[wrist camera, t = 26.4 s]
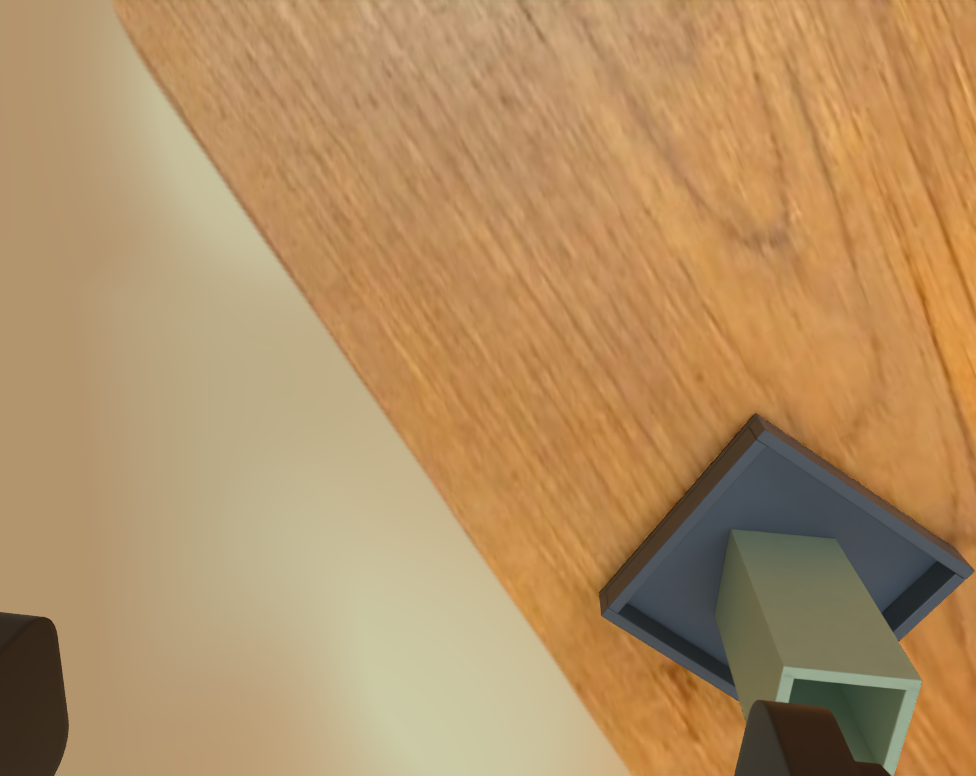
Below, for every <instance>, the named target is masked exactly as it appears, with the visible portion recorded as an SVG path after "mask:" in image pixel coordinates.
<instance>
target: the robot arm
mask: <svg viewBox="0 0 976 776" xmlns="http://www.w3.org/2000/svg"><path fill="white" fill-rule="evenodd" d="M68 729H69V724H68V713H67V705H66V697H65V690H64V682H63V674H62V667H61V659H60V651H59V644H58V636H57V631H56V628H55V625H54V624H53V622H52V621H51V620H50V619H48V618H46V617H38V616H30V615H20V614H12V613H3V612H0V776H54V775H55V773H56V771H57V769H58V767H59V765H60V762H61V760H62V757H63V754H64V750H65V747H66V743H67V738H68ZM734 776H891V775H890V774H889V773H888V772H887V771H886V770H885V769H884V767H883V766H882V765H881V764H876V763H867V762H859V761H855V760H854V758H853V756H852V754H851V752H850V749H849V747H848V745H847V743H846V741H845V738H844V736H843V734H842V732H841V730H840V727H839V725H838V723H837V721H836V719H835V717H834V715H833V714H832V712H831V711H830V710H829V709H828V708H825V707H820V706H811V705H802V704H793V703H784V702H775V701H767V700H756V701H755V702H754V703H753V705H752V707H751V709H750V712H749V715H748V720H747V724H746V728H745V732H744V736H743V741H742V745H741V749H740V753H739V757H738V762H737V766H736V770H735V774H734Z"/></svg>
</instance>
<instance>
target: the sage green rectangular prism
mask: <svg viewBox="0 0 976 776" xmlns="http://www.w3.org/2000/svg"><path fill="white" fill-rule="evenodd" d="M715 618H716V622H717V625H718V628H719V632H720V635H721V639H722V642H723V646H724V649H725V652H726V656H727V659H728V663H729V666H730V670H731V673H732V677H733V680H734V683H735V687H736V690H737V694H738V697H739V701H740V704H741V707H742V711H743V714H744V718H745V721H746V724H747V720H748V715H749V712H750V709H751V707H752V705H753V703H754V702H755V701H756V700H767V701H775V702H784V703H793V704H802V705H811V706H820V707H825V708H828V709H829V710H830V711H831V712H832V714H833V715H834V717H835V719H836V721H837V723H838V725H839V727H840V730H841V732H842V734H843V736H844V738H845V741H846V743H847V745H848V747H849V749H850V752H851V754H852V756H853V758H854V760H855V761H859V762H867V763H876V764H881V765H882V766H883V767H884V769H885V770H886V771H887V772H888V773H889V774H890V775H891V776H894V773H895V770H896V766H897V763H898V760H899V757H900V753H901V750H902V747H903V743H904V740H905V737H906V734H907V730H908V727H909V724H910V720H911V717H912V714H913V711H914V707H915V704H916V701H917V697H918V694H919V691H920V688H921V684H922V679H921V678H920V676H919V675H918V673H917V671H916V670H915V668H914V666H913V665H912V663H911V661H910V660H909V658H908V657H907V655H906V653H905V652H904V650H903V648H902V647H901V645H900V643H899V642H898V640H897V638H896V637H895V635H894V634H893V632H892V630H891V629H890V627H889V625H888V624H887V622H886V620H885V619H884V617H883V616H882V614H881V612H880V611H879V609H878V607H877V606H876V604H875V602H874V601H873V599H872V598H871V596H870V594H869V593H868V591H867V589H866V588H865V586H864V584H863V583H862V581H861V580H860V578H859V576H858V575H857V573H856V571H855V570H854V568H853V566H852V565H851V563H850V562H849V560H848V558H847V557H846V555H845V553H844V552H843V550H842V548H841V547H840V545H839V544H838V542H837V540H836V539H833V538H822V537H812V536H801V535H790V534H779V533H769V532H758V531H747V530H736V529H731V530H730V534H729V540H728V545H727V550H726V556H725V561H724V567H723V572H722V577H721V583H720V588H719V593H718V599H717V604H716V610H715Z"/></svg>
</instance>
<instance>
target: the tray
mask: <svg viewBox="0 0 976 776" xmlns="http://www.w3.org/2000/svg"><path fill="white" fill-rule="evenodd" d="M731 529H736V530H747V531H758V532H769V533H779V534H790V535H801V536H812V537H822V538H833V539H836V540H837V542H838V544H839V545H840V547H841V548H842V550H843V552H844V553H845V555H846V557H847V558H848V560H849V562H850V563H851V565H852V566H853V568H854V570H855V571H856V573H857V575H858V576H859V578H860V580H861V581H862V583H863V584H864V586H865V588H866V589H867V591H868V593H869V594H870V596H871V598H872V599H873V601H874V602H875V604H876V606H877V607H878V609H879V611H880V612H881V614H882V616H883V617H884V619H885V620H886V622H887V624H888V625H889V627H890V629H891V630H892V632H893V634H894V635H895V637H896V638H897V640H898V642H899V641H900V640H901V639H902V638H903V637H904V636H905V635H906V634H907V633H908V632H909V631H910V630H912V629H913V628H914V627H915V626H916V625H917V624H918V623H919V622H920V621H921V620H922V619H923V618H925V617H926V616H927V615H928V614H929V613H930V612H931V611H932V610H933V609H934V608H935V607H936V606H938V605H939V604H940V603H941V602H942V601H943V600H944V599H945V598H946V597H947V596H948V595H949V594H951V593H952V592H953V591H954V590H955V589H956V588H957V587H958V586H959V585H960V584H961V583H962V582H963V581H964V579H967V578H968V577H969V576H970V575H971V574H972V573H973V572H974V569H973V568H972V567H971V566H970V565H969V564H968V562H967V561H966V560H965V559H964V558H963V557H962V555H961V554H960V553H959V552H958V551H957V550H956V549H955V548H954V547H952V546H951V545H949V544H948V543H946V542H945V541H943V540H942V539H940V538H939V537H937V536H936V535H934V534H933V533H932V532H930V531H929V530H927V529H926V528H924V527H923V526H921V525H920V524H918V523H917V522H915V521H914V520H912V519H911V518H909V517H908V516H906V515H905V514H903V513H902V512H901V511H899V510H898V509H896V508H895V507H893V506H892V505H890V504H889V503H887V502H886V501H884V500H883V499H881V498H880V497H878V496H877V495H875V494H874V493H872V492H871V491H869V490H868V489H867V488H865V487H864V486H862V485H861V484H859V483H858V482H856V481H855V480H853V479H852V478H850V477H849V476H847V475H846V474H844V473H843V472H841V471H840V470H838V469H837V468H836V467H834V466H833V465H831V464H830V463H828V462H827V461H825V460H824V459H822V458H821V457H819V456H818V455H816V454H815V453H813V452H812V451H810V450H809V449H807V448H806V447H805V446H803V445H802V444H800V443H799V442H797V441H796V440H794V439H793V438H791V437H790V436H788V435H787V434H785V433H784V432H782V431H781V430H779V429H778V428H776V427H775V426H774V425H772V424H771V423H769V422H768V421H766V420H765V419H763V418H762V417H760V416H759V415H757V414H755V415H754V416H753V417H752V418H751V419H750V421H749V422H748V423H747V424H746V425H745V426H744V428H743V429H742V430H741V431H740V432H739V433H738V434H737V436H736V437H735V438H734V439H733V440H732V441H731V443H730V444H729V445H728V446H727V447H726V448H725V449H724V451H723V452H722V453H721V454H720V455H719V456H718V457H717V459H716V460H715V461H714V462H713V463H712V464H711V466H710V467H709V468H708V469H707V470H706V471H705V472H704V474H703V475H702V476H701V477H700V478H699V479H698V480H697V482H696V483H695V484H694V485H693V486H692V487H691V489H690V490H689V491H688V492H687V493H686V494H685V495H684V497H683V498H682V499H681V500H680V501H679V502H678V504H677V505H676V506H675V507H674V508H673V509H672V510H671V512H670V513H669V514H668V515H667V516H666V517H665V518H664V520H663V521H662V522H661V523H660V524H659V525H658V527H657V528H656V529H655V530H654V531H653V532H652V533H651V535H650V536H649V537H648V538H647V539H646V540H645V542H644V543H643V544H642V545H641V546H640V547H639V548H638V550H637V551H636V552H635V553H634V554H633V555H632V556H631V558H630V559H629V560H628V561H627V562H626V563H625V565H624V566H623V567H622V568H621V569H620V570H619V571H618V573H617V574H616V575H615V576H614V577H613V578H612V579H611V581H610V582H609V583H608V584H607V585H606V586H605V588H604V589H603V590H602V591H601V592H600V593H599V597H600V608H601V616H602V617H604V618H606V619H607V620H609V621H610V622H612V623H614V624H615V625H617V626H619V627H620V628H622V629H623V630H625V631H627V632H628V633H630V634H631V635H633V636H635V637H636V638H638V639H639V640H641V641H643V642H644V643H646V644H648V645H649V646H651V647H652V648H654V649H656V650H657V651H659V652H660V653H662V654H664V655H665V656H667V657H668V658H670V659H672V660H673V661H675V662H677V663H678V664H680V665H681V666H683V667H685V668H686V669H688V670H689V671H691V672H693V673H694V674H696V675H698V676H699V677H701V678H702V679H704V680H706V681H707V682H709V683H710V684H712V685H714V686H715V687H717V688H718V689H720V690H722V691H723V692H725V693H727V694H728V695H730V696H731V697H733V698H735V699H736V700H738V701H739V697H738V694H737V690H736V687H735V683H734V680H733V677H732V673H731V670H730V666H729V663H728V659H727V656H726V652H725V649H724V646H723V642H722V639H721V635H720V632H719V628H718V625H717V622H716V618H715V610H716V604H717V599H718V593H719V588H720V583H721V577H722V572H723V567H724V561H725V556H726V550H727V545H728V540H729V534H730V530H731ZM739 702H740V701H739Z"/></svg>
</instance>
